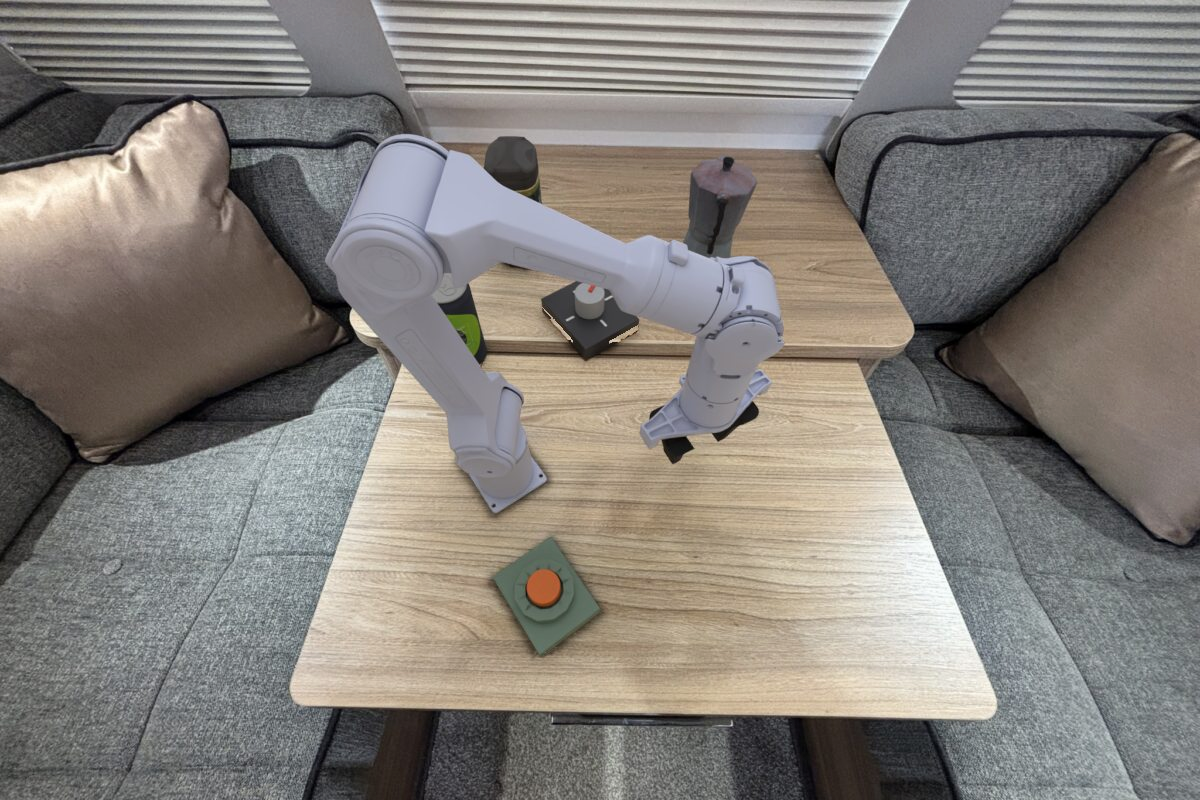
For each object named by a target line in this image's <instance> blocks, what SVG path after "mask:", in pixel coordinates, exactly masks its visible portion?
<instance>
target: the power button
mask: <svg viewBox="0 0 1200 800" xmlns="http://www.w3.org/2000/svg"><path fill="white" fill-rule="evenodd" d="M527 593H528V595H529V597H530V599H531V601H532V602H533V603H534V604H536V605H537V606H541V607H547V606H550V605H552V604H554V603H555V602H556V601H557V599H558V598H559V596H560V593H561V585H560V581H559V578H558V576H557V575H556V574H555V573H554V572H552V571H550V570H547V569H542V570H538V571H536V572H534V573H533V574H532V575H531V576H530V578H529V580H528V582H527Z"/></svg>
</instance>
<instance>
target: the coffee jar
mask: <svg viewBox="0 0 1200 800" xmlns="http://www.w3.org/2000/svg"><path fill="white" fill-rule="evenodd" d="M483 169H484V170H485V171H486V172H487V173H489V174H490V175H491V176H492V177H493V178H494V179H495V180H496V181H497V182H498V183H499V184H501V185H502V186H504V187H506V188H508V189H510V190H512V191H515V192H517V193H519V194H521V195H523V196H525V197H527V198H530V199H532V200H534V201H536V202H538V203H540V204H542V205H543V201H542V200H543V199H542V190H541V180H540V169H539V160H538V153H537V148H536V146H535V145H534V144H533V143H532V142H531V141H530V140H529V139H527V138H526V137H525V136H517V135H505V136H504V135H503V136H502V135H500V136H498V137H497V138H496V139H495V140H493V141H492V142H491V143H490V144H489V145H488V146H487V149H486V152H485V156H484V163H483ZM505 264H506V265H510V266H514V267H517V266H516V265H512V264H508V263H505Z"/></svg>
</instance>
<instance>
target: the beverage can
mask: <svg viewBox="0 0 1200 800" xmlns="http://www.w3.org/2000/svg"><path fill="white" fill-rule="evenodd" d="M431 295H432V296H433V298H434V299H435V301H436V302H437V304H438V305H439V306H440V308H441V309H442V311H443V312H444V314H445V315H446V317H447V318H448V320H449V321H450V323H451V324H452V325H453V327H454V328H455V330H456V331H457V333H458V334H459V336H460V337H461V339H462V340H463V342H464V343H465V344H466V346H467V347H468V349H469V350H470V352H471V353H472V355H473V356H474V358H475V359H476V361H477V362H478V363H479V365H480V366H481V364H483V362H484V361H485V360H486V358H487V354H488V348H487V344H486V340H485V338H484V334H483V330H482V325H481V322H480V319H479V316H478V311H477V307H476V304H475V301H474V300H475V299H474V296H473V292H472V289H471V286H470V282H469V283H468V284H466V285H465V286H463V287H461V288H454V287H453V280H452V273H444V275H443V279H442V283H441V285H440V286H439V288H438V289H437V290H436V291H435V292H434V293H433V294H431Z"/></svg>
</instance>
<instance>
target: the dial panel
mask: <svg viewBox="0 0 1200 800" xmlns="http://www.w3.org/2000/svg"><path fill="white" fill-rule="evenodd" d="M580 284H582V283H581V282H578V281H573V282H571V283H569V284H568V285H565V286H563V287H562V288H560V289H558V290H555V291H553V292H552V293H549V294H548V295H546V296H544V297H542V298H541V299H540V303H541V312H542V313H543V314H544V315H545V316H546V318H547V319H548V320H549V319H551V317H550V316H549V315H548V314H547V313H546V312H545V311H544V309H545V310H546V311H547V312H548V313H549V314H550V315H551V316H552V317H553V319H555V321H556V322H557V323H558V324H559V325H560V326H561V327H562V328H563V330H564V331H565V332H566V333H567V334H568V335H569V336H570V337H571V339H572V340H573V343H572V342H571V340H567V339H566V341H567V342H568V343H569V344H570V345H571V347H573V349H574V350H575V351H576V352H577V354H579V356H580V357H581V358H582V359H583V360H584V361H585V362H587V361H589V360H591V359H593V358H594V357H596V356H597V355H599V354H601V353H603V352H605V351H606V350H609V349H610V348H612V347H613V346H615V345H617V344H618V342H612V343H610V344H609V341H610V340H612V339H614V338H616V337H617V336H619V335H621V334H623V333H625V332H626V331H628V330H630V329H631V328H633V327H635V326H637V325H638V324H639V325H640V317H638V316H635V315H632V314H629V313H626V312H623V311H622V310H621V309H620V308H619V307H618V305H617V303H616V301H615V299H614V297H613V295H612V294H611V292H610V291H609V290H608V289H605V288H603V289H604V292H605V295H604V311H603V313H602V315H601V316H599V317H598V318H595V319H584V318H582V317H580V316H579V315H578V314H577V313H576V310H575V289H576V288H577V286H578V285H580ZM542 307H543V308H544V309H543V308H542ZM549 321H550V322H551V320H549Z"/></svg>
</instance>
